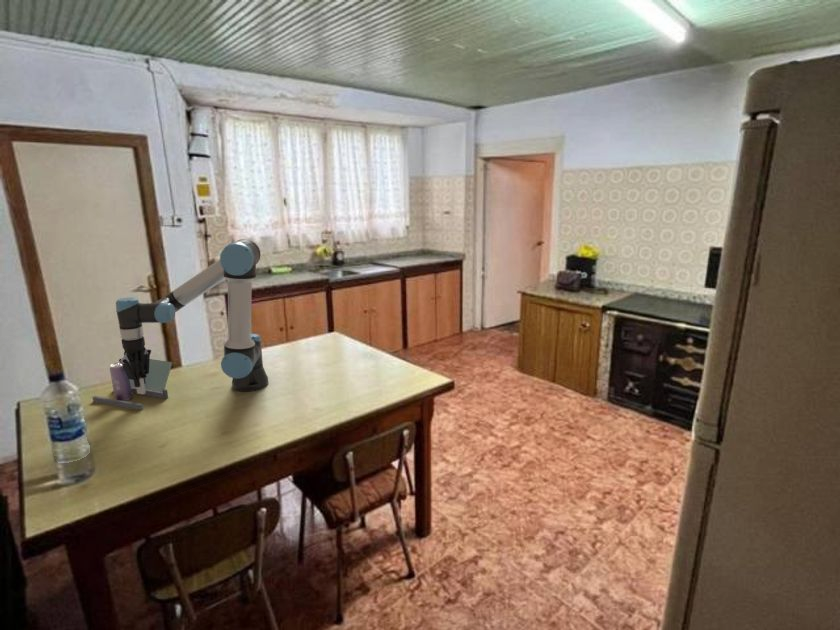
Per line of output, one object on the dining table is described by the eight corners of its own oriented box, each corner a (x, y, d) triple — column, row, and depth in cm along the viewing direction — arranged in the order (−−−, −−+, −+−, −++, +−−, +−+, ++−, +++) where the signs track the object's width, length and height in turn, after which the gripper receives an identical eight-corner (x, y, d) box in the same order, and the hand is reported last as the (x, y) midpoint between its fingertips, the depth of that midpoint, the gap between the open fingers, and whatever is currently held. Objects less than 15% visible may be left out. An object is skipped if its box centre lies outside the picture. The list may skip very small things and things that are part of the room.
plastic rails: (168, 397, 188) (167, 389, 187) (143, 411, 177) (142, 402, 176) (117, 389, 195) (116, 381, 194) (90, 401, 184) (89, 393, 183)
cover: (162, 392, 186) (164, 392, 187) (170, 361, 189) (172, 362, 190) (116, 384, 193) (118, 384, 194) (125, 355, 196) (127, 355, 197)
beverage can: (135, 395, 189) (130, 362, 185) (125, 402, 184) (119, 367, 179) (122, 395, 190) (116, 361, 186) (111, 401, 184) (105, 366, 180)
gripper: (139, 331, 184) (147, 385, 190) (109, 341, 172) (119, 398, 178) (154, 333, 182) (162, 387, 188) (125, 343, 170) (135, 401, 176)
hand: (141, 393), depth 183 cm, fingers closed
